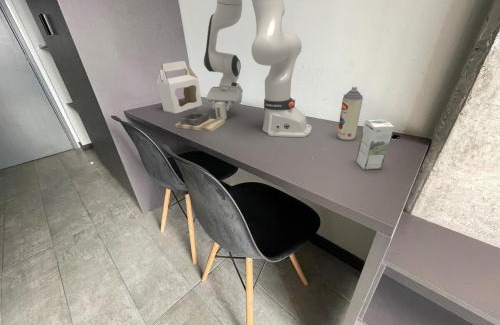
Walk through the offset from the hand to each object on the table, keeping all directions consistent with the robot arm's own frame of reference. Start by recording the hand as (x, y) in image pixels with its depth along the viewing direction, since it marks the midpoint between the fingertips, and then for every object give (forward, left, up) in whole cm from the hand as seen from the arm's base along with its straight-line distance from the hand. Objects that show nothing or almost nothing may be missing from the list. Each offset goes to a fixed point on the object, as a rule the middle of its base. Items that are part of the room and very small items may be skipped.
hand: (220, 109), depth 118 cm
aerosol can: (-64, +8, -6) cm, 65 cm away
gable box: (+38, -14, -6) cm, 41 cm away
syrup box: (-72, +29, -6) cm, 78 cm away
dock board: (+6, +11, -5) cm, 14 cm away
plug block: (0, 0, -5) cm, 5 cm away
